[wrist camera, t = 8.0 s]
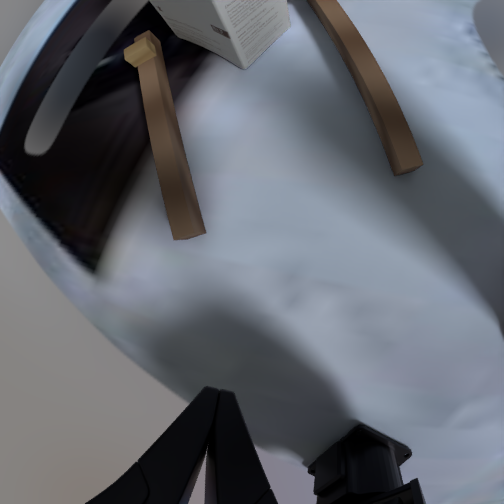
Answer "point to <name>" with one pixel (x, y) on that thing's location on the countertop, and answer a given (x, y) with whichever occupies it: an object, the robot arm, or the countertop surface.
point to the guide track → (169, 138)
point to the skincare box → (227, 25)
